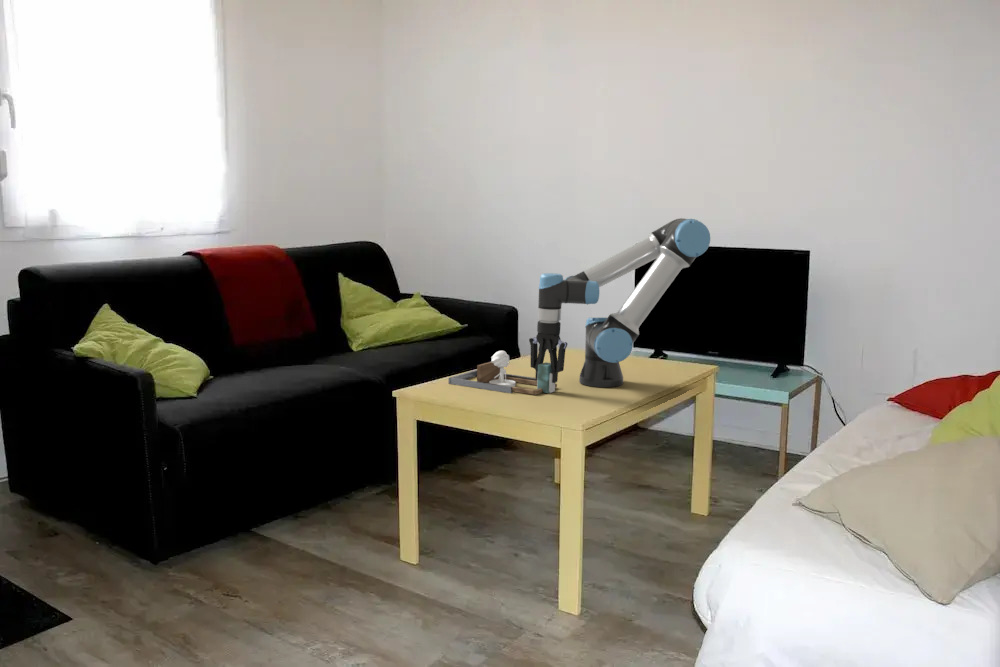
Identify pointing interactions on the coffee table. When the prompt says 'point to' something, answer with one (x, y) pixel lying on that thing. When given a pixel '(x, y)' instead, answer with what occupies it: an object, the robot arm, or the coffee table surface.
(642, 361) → the coffee table surface
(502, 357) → the figurine
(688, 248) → the robot arm
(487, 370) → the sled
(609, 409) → the coffee table surface
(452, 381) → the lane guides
